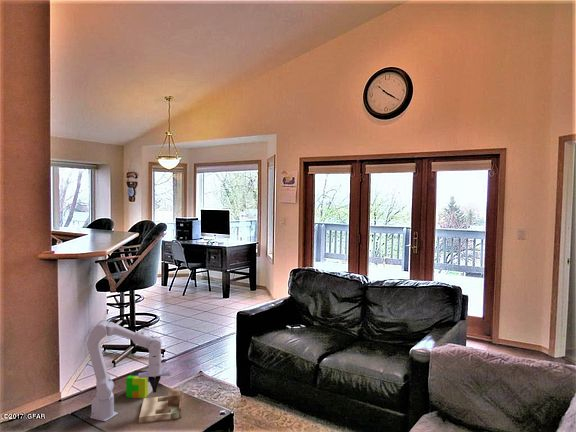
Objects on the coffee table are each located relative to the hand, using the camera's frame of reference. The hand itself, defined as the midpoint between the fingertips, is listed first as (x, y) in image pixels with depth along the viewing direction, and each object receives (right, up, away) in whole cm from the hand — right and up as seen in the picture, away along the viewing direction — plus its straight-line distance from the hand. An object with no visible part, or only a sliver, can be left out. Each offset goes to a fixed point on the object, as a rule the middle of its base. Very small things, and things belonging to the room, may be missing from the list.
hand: (154, 391), depth 193 cm
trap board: (+3, -9, +1) cm, 10 cm away
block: (+9, -7, +2) cm, 11 cm away
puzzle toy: (-14, -10, +19) cm, 25 cm away
